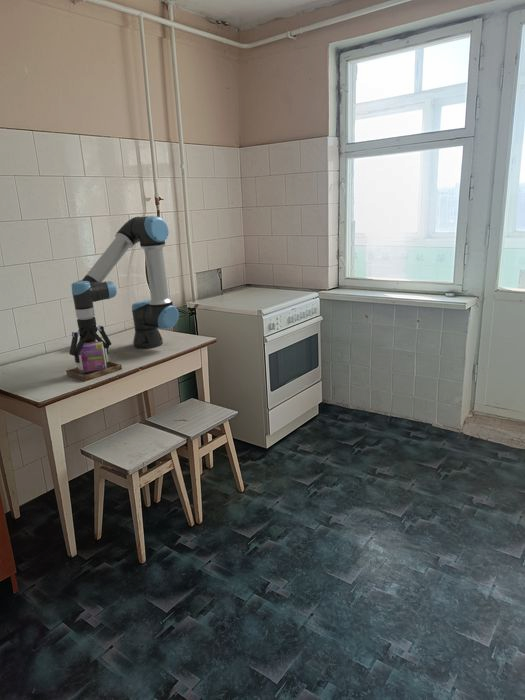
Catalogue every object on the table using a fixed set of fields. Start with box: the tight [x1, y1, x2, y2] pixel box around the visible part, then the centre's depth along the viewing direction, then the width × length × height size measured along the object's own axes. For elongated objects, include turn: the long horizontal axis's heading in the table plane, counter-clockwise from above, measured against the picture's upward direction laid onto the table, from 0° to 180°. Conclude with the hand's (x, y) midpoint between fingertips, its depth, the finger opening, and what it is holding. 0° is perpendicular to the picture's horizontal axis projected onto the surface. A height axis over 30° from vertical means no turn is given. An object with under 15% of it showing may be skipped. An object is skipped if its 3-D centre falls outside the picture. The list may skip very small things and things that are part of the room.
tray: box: [66, 360, 123, 382], centre depth 220 cm, size 19×15×2 cm
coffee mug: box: [77, 328, 97, 343], centre depth 261 cm, size 12×9×10 cm
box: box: [79, 341, 106, 372], centre depth 218 cm, size 10×6×12 cm, turn 105°
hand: (93, 365), depth 220 cm, fingers closed on box, 12 cm apart
